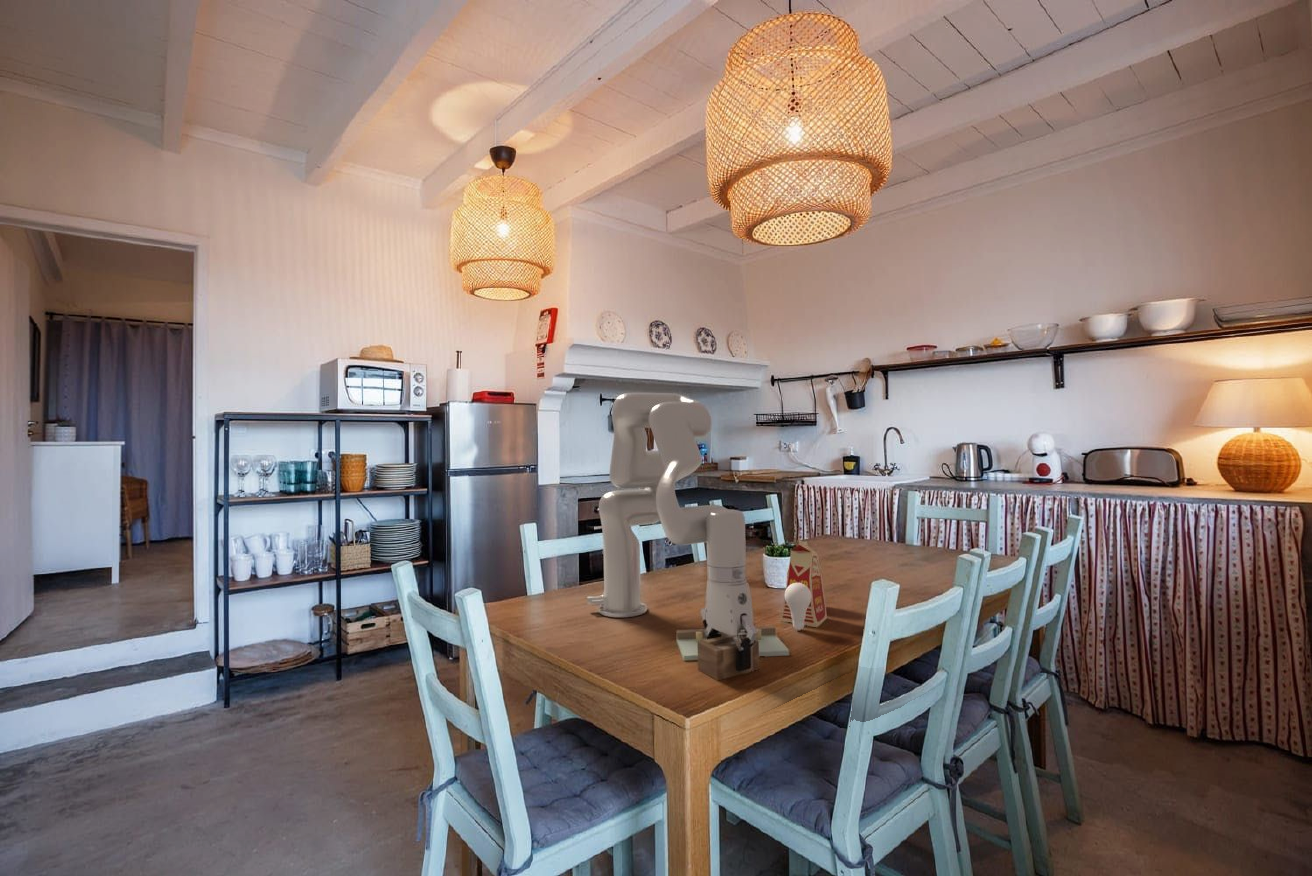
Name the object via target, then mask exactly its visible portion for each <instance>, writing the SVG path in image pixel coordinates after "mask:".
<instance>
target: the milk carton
mask: <svg viewBox="0 0 1312 876" xmlns="http://www.w3.org/2000/svg"><path fill="white" fill-rule="evenodd" d="M820 569H821V566H820V560H819V555H818V553H817V552H816V551H815V550H814V549H812V548H811V547H810V546H809V545H808V541H803V540H802V539H798V545H797V546H795V547H794V548H792V549H791V550H790V556H789V562H788V567H787V571H786V587H785V590H786V589H787V587H788V586H789V585H791V584H793V583H802V584H804V585H806V586H807V587H808V588H809V590H810V592H811V595H812V598H811V602H810V604H809V606H808V608H807V610H806V615H805V620H804V626H806V625H807V627H813V628H818V627H819V626H820V625H822V624H823V622H824V621H825V620H827V619H828V616H827V604H826V598H825V591H824V584H823V576H822V570H820ZM780 617H781V618H780V622H784V623H788V622H791V623H790V624H793V619H792V617H791V611H790V608H789V606H788V605H787V602H786V600H785V598H784V600H783V606H782V611H781V616H780Z"/></svg>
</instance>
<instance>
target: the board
mask: <svg viewBox="0 0 1312 876" xmlns="http://www.w3.org/2000/svg"><path fill="white" fill-rule="evenodd" d="M754 626H755V625H754ZM755 627H756V629H757V630H758V635H757V637H756V639H755V640H756V641H759V658H760V656H765V657H779V656H781V657H783V656H790V650H789V648H787V646H786V645H785V644H784V643H783V641H781V639H780V638H779V637H778V636H777V635H776V634H777V633H776V627H775V626H774V625H762V626H761V625H760V626H759V625H757V626H755ZM705 630H706V629H705V628H698V629H696V628H695V629H692V628H691V629H677V630H676V632H675V633H676V638H675V639H676V643H677V644H676V645H677V646H678V649H679V651H680V655H681V657H682V660H683V662H686V661H698V642H699V641H703V640H707V635H706V634H705ZM739 632H742V631H738V633H739ZM718 634H721V636H726V634H724V633H722V632H719V633H718Z"/></svg>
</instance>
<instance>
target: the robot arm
mask: <svg viewBox="0 0 1312 876" xmlns="http://www.w3.org/2000/svg"><path fill="white" fill-rule="evenodd" d="M611 420H612V426H613V440H612V441H613V442H612V449H611V456H610V457H611V458H610V465H609V480H610V483H611V484H612V485H613V486H614V487H616V488H620V489H621V490H620V489H619V490H612V491H609V492H606V493H604V495H602V496H601V498H600V500H599V502H598V513H599V517H600V524H601V530H602V542H603V543H602V544H603V545H602V546H603V547H602V549H603V581H604V582H603V583H604V584H603V586H604V587H603V589H604V590H603V592H602V594H600V595H598V596H586V597H587V598H586V601H587V603H586V604H587V605H591V606H599V607H598V612H599V614H601V615H602V616H605V617H609V618H632V617H638V616H640V615H642V614H645V613H646V612H647V611H648V606H647V604H646V603H644V602H642V594H641V593H642V591H641V586H642V585H641V583H642V582H641V581H642V580H641V547H640V546H641V545H640V542H639V541H640V540H639V539H638V537H637V535H636V534H635V532H634V531H633V530H632V528H631V527H636V526H644V525H645V526H646V525H653V524H656V523H659V522H660V523H661V526H662V529H663V531H664V534H665V536H666V537H667V539H668V540H669V541H670V542H671V543H673V544H674V545H677V546H686V545H694V544H701V543H705V544H706V564H707V565H706V567H707V570H706V571H707V581H706V582H707V583H706V589H705V590H706V591H705V607H704V608H703V607H702V609H700V615H701V619H702V625H703V626H704V629H706V630H705V634H706V635H707V640H708V639H712V638H717V637H721V634H718V633H719V632H722V633H724V634H726V635H729V636H731V637H733V638H734V640H735V643H736V645H737V648H738V649H737V650H735V656H736V670H737V671H743V670H747V669H750V668H751V648H753V644H754V643H755V641H756V640H755V639H756V637H757V635H758V630H757V629H756V627H755V624H754V613H753V612H754V611H753V601H752V595H751V590H750V589H751V588H750V585H749V582H747V558H746V557H747V554H746V553H747V551H746V550H747V549H746V548H747V547H746V545H747V544H746V517H745V514H744V513H743V512H742V511H741V510H739V509H731V508H730V509H728V508H726V507H724V506H723V505H720V504H710V505H709V504H708V505H697V506H694V505H693V506H692V505H691V506H681V507H680V504H679V501H678V498H677V495H676V490H675V486H676V482H679V481H680V480H681V479H684V478H686V477H688V476H689V475H691V474H692V473H694V472H695V471H696V470H697V469H698V468H699V467H701V465H702V462H703V457H702V454H701V452H700V449H699V446H698V444H697V440H696V439H702V438H704V437H706V436H708V435H709V433H710V431H711V429H712V417H711V414H710V411H709V409H708V408H707V407H706V405H704V404H703V403H702V402H701V401H698V400H696V399H693V398H690V397H688V396H685V395H684V394H683V395H682V394H678V393H671V392H669V393H667V392H659V393H658V392H627V393H623V394H620V395H618V396H617V397H616V399H615V400H614V402H613V404H612V409H611ZM645 429H650V430H651V432H652V435H653V439H654V442H655V445H656V447H657V450H647V445H648V435H647V431H646V430H645ZM738 631H742V632H739V633H738ZM740 637H743V638H744V640H743V642H741V640H740Z"/></svg>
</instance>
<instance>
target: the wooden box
mask: <svg viewBox="0 0 1312 876" xmlns="http://www.w3.org/2000/svg"><path fill="white" fill-rule="evenodd" d="M740 640H741V642H743V640H744V638H743V637H740ZM737 649H738V648H737V645H736V643H735V640H734V638H733V637H731V636H729V635H726V636H721V637H717V638H712V639H708V640H703V641H699V642H698V660H697V670H698V671H699V672H701V673H703V674H705V675H707V677H710V678H712V679H713V680H715V681H717V682H718V681H721V680H726V679H728V678H733V677H736V676H740V675H743V674H748V673H751V671H752V672H755V671H754V670H756V671H758V670H760V657H759V641H755V643H754V644H753V648H751V668H750V669H747V670H743V671H737V670H736V656H735V650H737Z"/></svg>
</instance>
